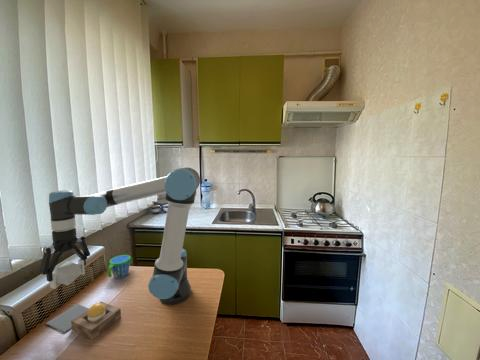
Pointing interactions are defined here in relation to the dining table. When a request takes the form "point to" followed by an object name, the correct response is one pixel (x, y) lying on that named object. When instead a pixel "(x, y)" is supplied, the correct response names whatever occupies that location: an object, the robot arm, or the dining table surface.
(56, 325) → the coaster
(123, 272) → the snack cup
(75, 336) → the dining table surface
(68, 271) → the die
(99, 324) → the brown square tray
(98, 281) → the dining table surface
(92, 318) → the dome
